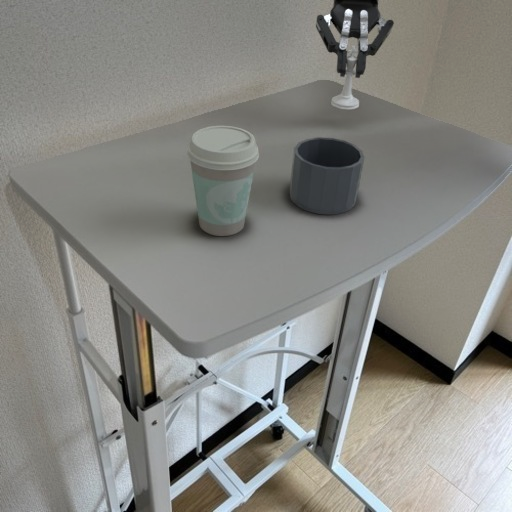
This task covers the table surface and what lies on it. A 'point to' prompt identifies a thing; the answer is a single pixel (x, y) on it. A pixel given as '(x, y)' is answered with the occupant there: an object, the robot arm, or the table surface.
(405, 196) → the table surface
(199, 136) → the coffee cup
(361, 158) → the tumbler
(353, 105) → the chess piece
